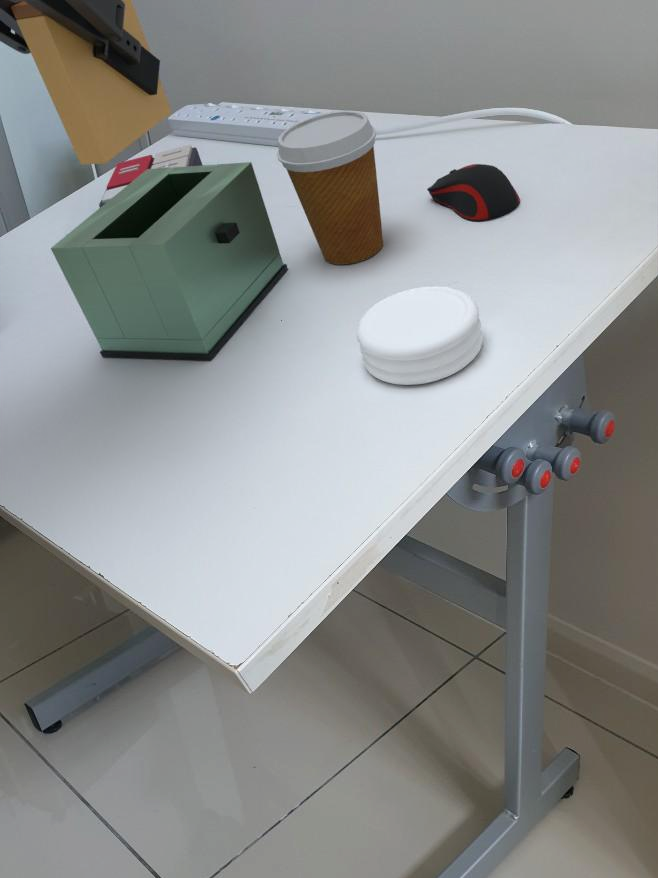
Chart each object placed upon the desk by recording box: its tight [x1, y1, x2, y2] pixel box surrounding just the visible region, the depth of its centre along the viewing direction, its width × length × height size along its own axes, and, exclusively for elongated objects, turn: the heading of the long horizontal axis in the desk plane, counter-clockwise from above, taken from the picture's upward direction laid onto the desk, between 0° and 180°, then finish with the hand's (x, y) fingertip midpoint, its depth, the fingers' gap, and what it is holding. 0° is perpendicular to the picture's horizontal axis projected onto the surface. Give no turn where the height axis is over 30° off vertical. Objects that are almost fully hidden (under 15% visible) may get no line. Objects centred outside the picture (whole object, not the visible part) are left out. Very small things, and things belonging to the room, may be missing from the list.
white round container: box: [355, 285, 484, 386], centre depth 71 cm, size 10×10×4 cm
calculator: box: [98, 144, 203, 208], centre depth 109 cm, size 11×4×15 cm
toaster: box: [50, 161, 289, 362], centre depth 82 cm, size 13×16×11 cm
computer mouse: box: [426, 163, 521, 222], centre depth 90 cm, size 6×11×4 cm, turn 32°
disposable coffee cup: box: [276, 110, 384, 266], centre depth 85 cm, size 10×10×12 cm
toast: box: [11, 0, 173, 166], centre depth 67 cm, size 2×10×11 cm, turn 160°
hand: (138, 79), depth 71 cm, fingers closed on toast, 2 cm apart
